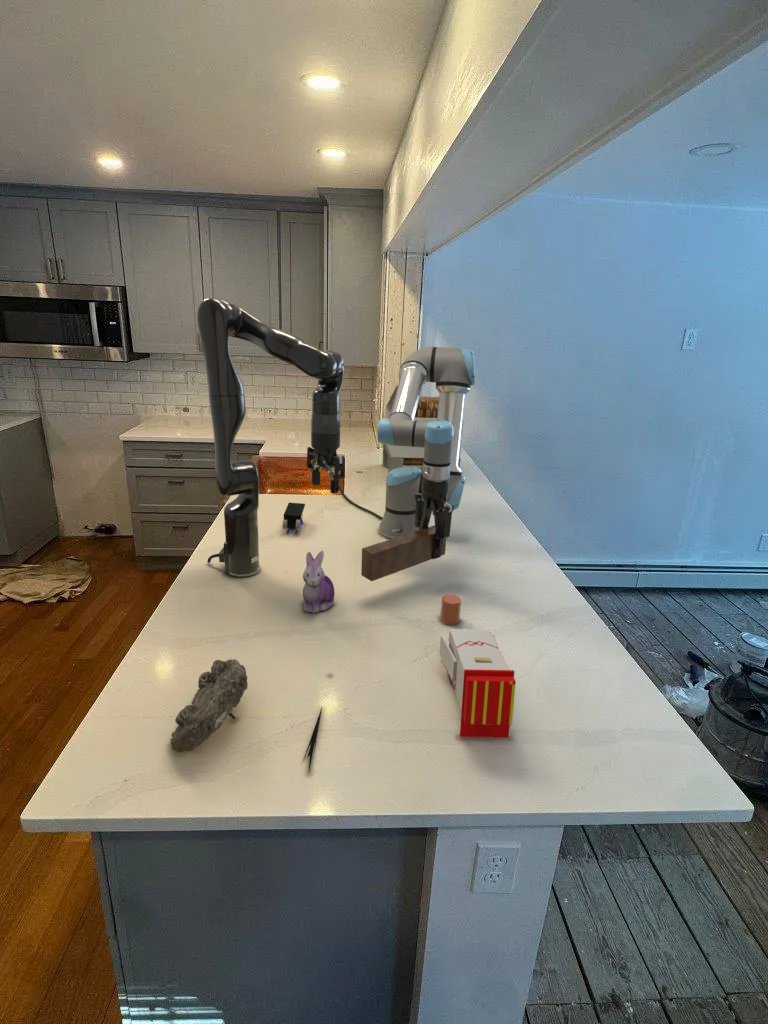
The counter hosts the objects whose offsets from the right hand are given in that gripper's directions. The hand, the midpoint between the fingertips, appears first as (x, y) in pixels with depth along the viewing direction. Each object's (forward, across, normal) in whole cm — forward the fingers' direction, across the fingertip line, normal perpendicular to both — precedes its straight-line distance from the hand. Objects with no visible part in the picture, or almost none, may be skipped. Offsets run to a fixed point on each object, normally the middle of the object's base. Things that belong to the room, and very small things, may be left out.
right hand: (430, 554), depth 165 cm
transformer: (+10, -84, +76) cm, 114 cm away
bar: (0, 0, -10) cm, 10 cm away
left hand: (-21, -16, -26) cm, 37 cm away
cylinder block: (+7, +20, -12) cm, 25 cm away
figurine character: (+8, -56, -12) cm, 57 cm away
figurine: (+7, -6, -36) cm, 37 cm away
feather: (+6, +31, -60) cm, 68 cm away
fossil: (+6, +18, -76) cm, 78 cm away
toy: (+7, +43, -30) cm, 53 cm away
